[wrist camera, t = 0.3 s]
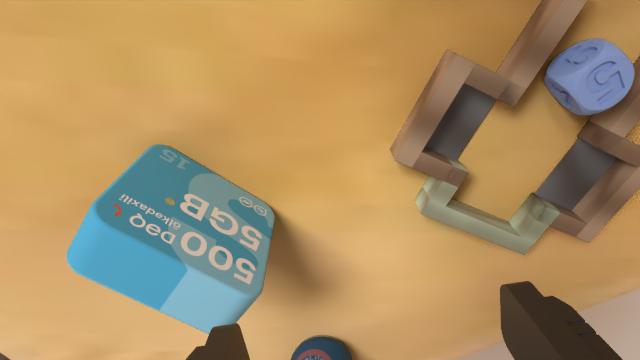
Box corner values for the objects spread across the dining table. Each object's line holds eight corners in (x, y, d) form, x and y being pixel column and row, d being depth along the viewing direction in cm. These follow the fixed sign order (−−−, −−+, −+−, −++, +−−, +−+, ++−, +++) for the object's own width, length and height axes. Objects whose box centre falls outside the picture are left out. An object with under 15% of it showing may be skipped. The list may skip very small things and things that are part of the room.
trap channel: (506, -56, 26) (524, -60, 24) (714, 66, 30) (746, 72, 28) (371, 182, 34) (375, 195, 32) (548, 253, 38) (562, 270, 36)
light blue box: (277, 208, 36) (261, 304, 25) (252, 241, 37) (227, 344, 26) (157, 138, 32) (80, 213, 22) (135, 177, 34) (53, 265, 23)
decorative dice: (560, 107, 32) (591, 122, 28) (535, 72, 30) (565, 83, 27) (606, 72, 30) (645, 84, 27) (582, 34, 29) (619, 41, 25)
